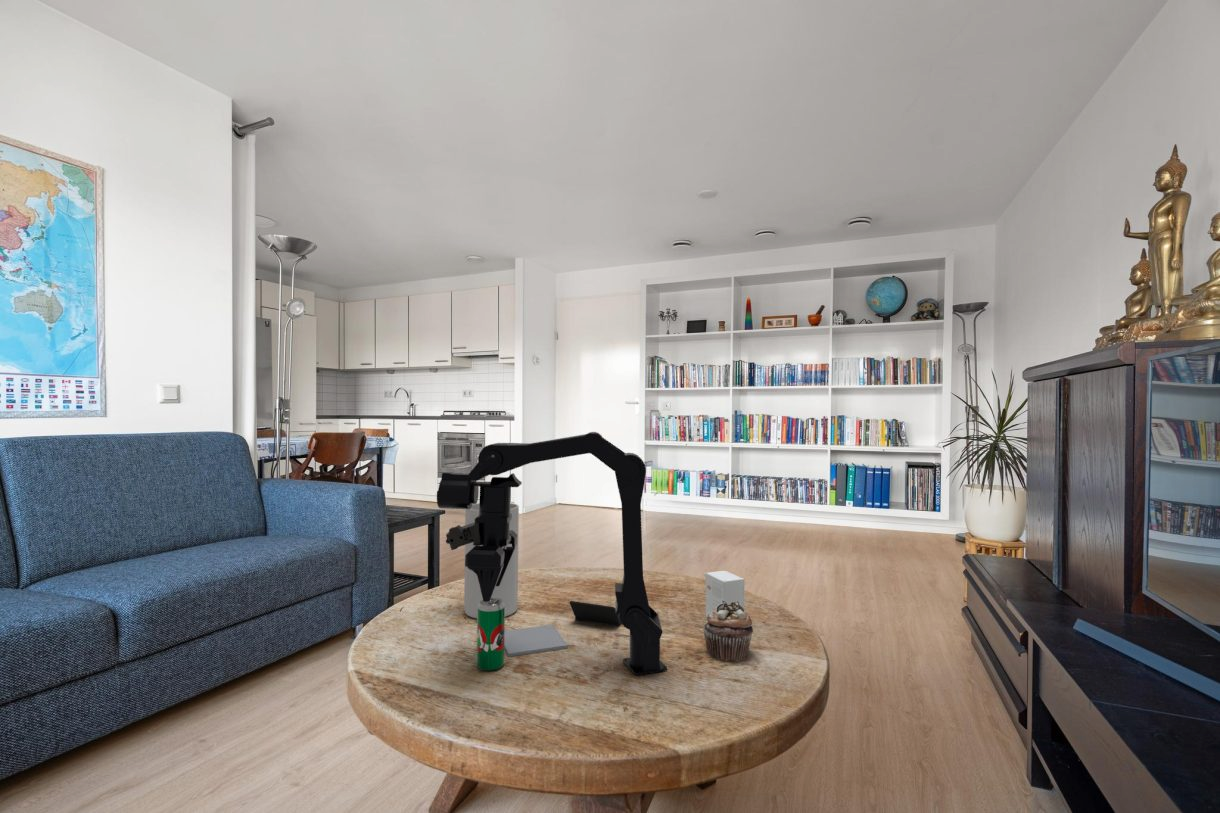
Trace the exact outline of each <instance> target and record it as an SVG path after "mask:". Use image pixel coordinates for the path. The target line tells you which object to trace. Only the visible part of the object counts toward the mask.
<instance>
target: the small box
mask: <svg viewBox="0 0 1220 813" xmlns="http://www.w3.org/2000/svg"><path fill="white" fill-rule="evenodd" d="M704 575H705V618H706V617H708V614H710V613H711V612H713V611H714V610H715V609H716V607H717V606H718V605H720V604H721V603H722V601H725V602H726V603H727V604H728V605H730V604H731V603H732V602H737V601H738V602H739V603H740V604H741V605H742V607H743V608H744V612H745V613H746V611H745V609H746V608H745V606H746V605H745V602H746V601H745V598H746V597H745V595H746V594H745V579H744V578H742V577H740V576H738V575H736V574H733V573H731V572H730V571H727V570H720V571H719V570H718V571H712V572H711V571H710V572H708V571H707V572H705V574H704Z"/></svg>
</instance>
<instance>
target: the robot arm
mask: <svg viewBox="0 0 1220 813" xmlns="http://www.w3.org/2000/svg"><path fill="white" fill-rule="evenodd" d="M586 454H591V455H592V456H594V457H595V458H596V459H598V460H599V461H600V462H601V463H603V464H604V465H605V466H607V467H608V468H609V469H611V470H612V471H614V474H615V480H616V484H617V489H618V494H619V499H620V504H621V523H622V524H621V527H622V529H621V530H622V555H623V556H622V557H623V558H622V560H623V576H622V582H621V583H619V582H615V583H614V593H615V602H614V603H615V609H616V615H618V614H619V617H620V621H621V623H622V624H621V625H622V626H624V628H626V629H627V630H628V631H629V657H626V658H622V663H624V665H625V666H626V667H627V668H628V669H629V670H630V671H631V672H632V674H634V675H635V676H641V675H647V674H648V675H649V674H652V673H658V672H659V673H660V672H665V671H667V670H668V666H667V665H666V664H665V663H663V662H662V660H661V637H662V634H663V628H662V624H661V620H660V616H659V614H658V613H657V611H656V610H655V609H654V608H652V606H651V605H650V604H649V599H648V594H647V590H646V584H645V580H644V565H643V564H644V562H643V537H642V536H643V534H642V533H643V532H642V507H641V505H642V499H643V495H644V488H645V481H646V473H647V468H646V464H645V462H644V461H643V459H642V458H641V457H640V456H639V455H638V454H636V453H633V452H624V451H623V450H622V449H621V448H619V447H618V446H616V445H614V444H613V443H612V442H610V441H608V440H607V439H606V438H604V437H603V436H602V434H601V433H599V432H597V431H590V432H588V433H585V434H579V435H573V436H572V435H571V436H568V437H567V436H565V437H562V438H554V439H549V440H542V441H537V442H530V443H526V442H525V443H523V442H520V443H519V442H496V443H492V444H491V443H490V444H487V445H486V446H484V447H483V448H482V449H481V451H480V452H479V454H478V457H477V460H478V461H477V463H476V465H475V466H474V467H473V468H472V469H471V470H470V472H469V473H458V472H452V471H445V472H442V473H441V479H440V482H439V485H438V490H437V491H436V504H437V507H438V509H446V510H447V509H449V510H453V509H454V510H455V509H456V510H465V509H471V507H472V504H478V503H479V516H477V517H476V518H475V522H474V523H471V524H468V525H462V526H461V525H459V524H458V525H457V526H456V525H455V526H454V527H453V526H452V527H450V528H449V530H448V531H447V533H446V534H445V536H446V537H445V538H446V540H445V543H446V544H448V545H449V547H450V550H451V551H455V550H458V548H459V547H463V546H465V545H466V544H469V543H472V542H473V546H475V547H473V548H472V549H471V550H470V551H469V552H468V553H467V554H466V555H465V554H464V567H465V566H466V567H468V569H469V570H472V571H473V572H474V573H476V575H477V577H478V581H479V585H480V589H481V593H482V598H483V601H484V602H489V601H490V599H491V596H492V594H493V591H494V589H495V586H500V583H501V581H502V579H503V576H504V574H505V572H506V569H507V567H508V564H509V562H510V560H511V557H512V555H513V553H514V551H515V548H516V547H515V546H516V545H517V534H516V533H515V532H514V531H513V530H509V526H510V520H511V519H512V514H510V503H511V494H512V492H511V488H519V487H520V486H521V485H522V481H521V480H519V478H517V477H516V474H515V473H510V474H509V476H508V477H506V476H504V477H503V476H498V475H500V474H501V475H502V474H504V473H506V472H510V471H512V470H515V469H518V468H521V467H523V466H526V465H529V464H532V463H539V462H544V461H545V462H546V461H550V460H556V459H563V458H568V457H574V456H579V455H580V456H581V455H586ZM488 476H492V478H491V480H490V481H481V480H482V479H484V478H486V477H488ZM508 544H512V547H508ZM480 545H482V546H480Z"/></svg>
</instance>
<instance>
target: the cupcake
mask: <svg viewBox="0 0 1220 813" xmlns="http://www.w3.org/2000/svg"><path fill="white" fill-rule="evenodd" d="M706 619H707V620H706V621H707V622H705V623H704V624H703V625H702V630H703V635H704V641H705V646H706V653H707V654H708V655H709V656H710V657H711V658H713V659H715V658H716V660H718V659H720V660H719V661H722V660H726V661H725V662H736V661H735V660H739V661H741V659H743V660H745V659H746V658H747V657H746V656H748V654H749V651H750V650H749V649H750V645H751V641H752V640H751V639H752V635H753V633H754V629H753V626H752V625H753V620H752V619H751V617H750V616H749V614H748V613H747V612H746V611H745V612H744V608H743V607H742V605H741V604H740V603H739V602H738V601H737V602H732V603H731V604H730V605H728V604H727V603H726V602H725V601H722V603H721V604H720V605H718V606H717V607H716V609H715V610H714V611H713V612H711V613H710V614H708V617H707V618H706ZM745 657H746V658H745ZM744 658H745V659H744ZM730 660H731V661H730ZM732 660H733V661H732Z"/></svg>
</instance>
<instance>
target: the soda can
mask: <svg viewBox="0 0 1220 813" xmlns="http://www.w3.org/2000/svg"><path fill="white" fill-rule="evenodd" d="M479 604H480V605H479V606H478V608H477V619H476V666H477V668H478V669H479V670H481V671H484V672H494V671H497V670H499V669H501V668H502V667H503V666H504V664H505V648H504V646H505V631H506V628H505V627H506V626H505V625H506V624H505V623H506V617H505V606H504V604H503V600H501V599H497V598H491V599H490V601H489V602H484V601H483V600H482V601H480V603H479Z"/></svg>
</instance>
